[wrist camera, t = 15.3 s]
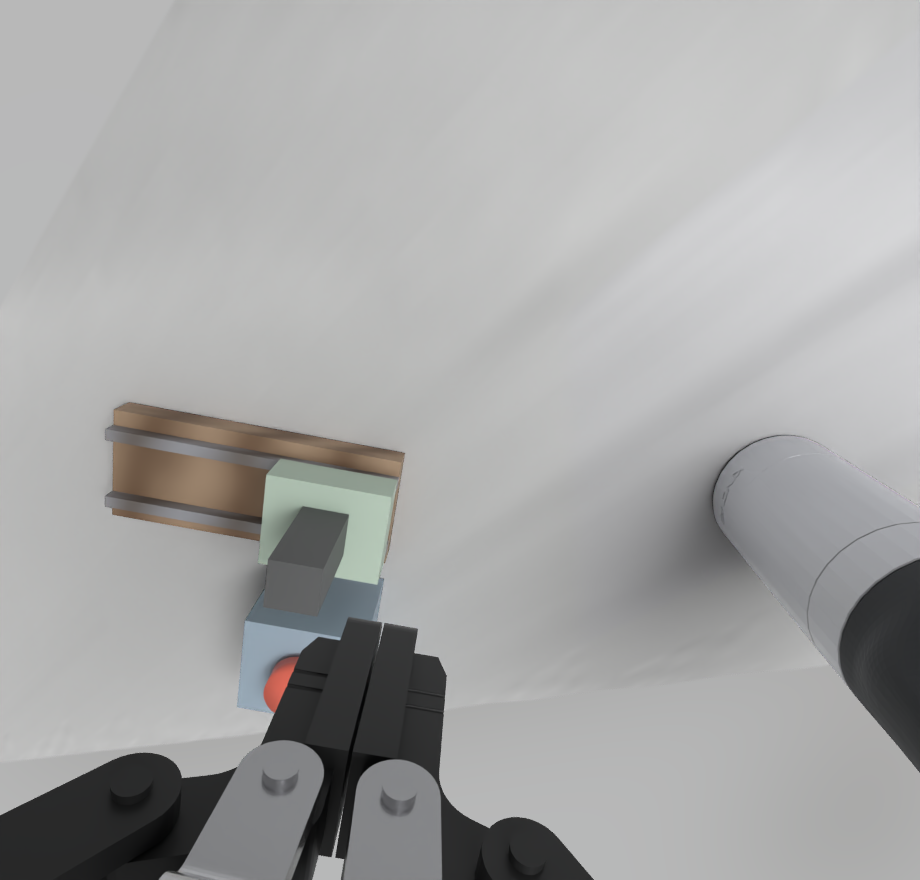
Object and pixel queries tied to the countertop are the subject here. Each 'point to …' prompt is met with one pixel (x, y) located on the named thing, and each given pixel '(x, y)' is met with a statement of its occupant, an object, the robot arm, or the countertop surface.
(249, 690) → the button box
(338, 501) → the carriage
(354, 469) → the rail track
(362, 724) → the robot arm
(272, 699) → the button
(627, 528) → the countertop surface
